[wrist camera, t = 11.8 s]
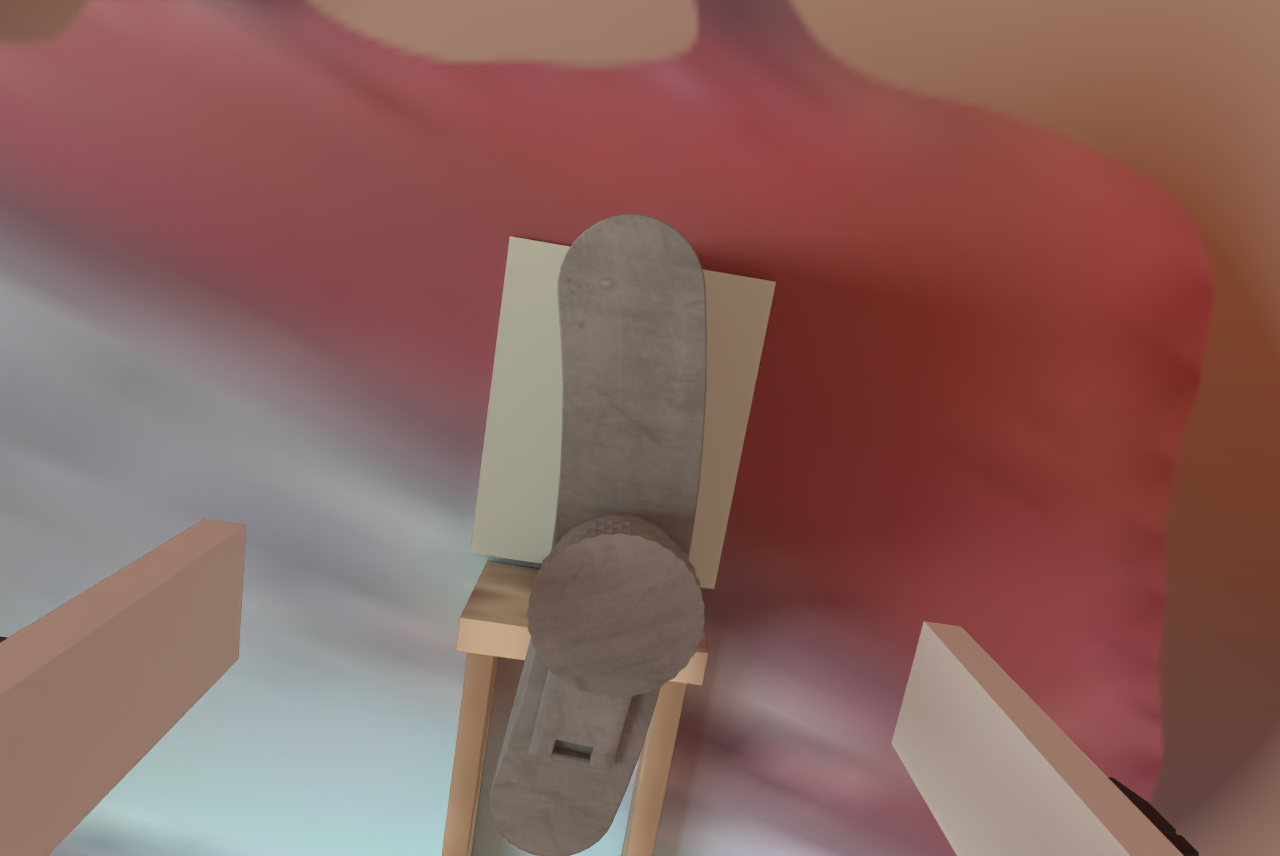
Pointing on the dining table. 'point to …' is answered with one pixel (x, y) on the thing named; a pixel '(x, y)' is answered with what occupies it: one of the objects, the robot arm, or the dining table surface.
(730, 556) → the dining table surface
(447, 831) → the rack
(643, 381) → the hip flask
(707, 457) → the mat
